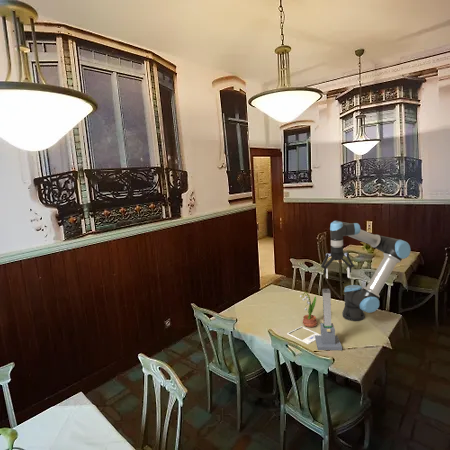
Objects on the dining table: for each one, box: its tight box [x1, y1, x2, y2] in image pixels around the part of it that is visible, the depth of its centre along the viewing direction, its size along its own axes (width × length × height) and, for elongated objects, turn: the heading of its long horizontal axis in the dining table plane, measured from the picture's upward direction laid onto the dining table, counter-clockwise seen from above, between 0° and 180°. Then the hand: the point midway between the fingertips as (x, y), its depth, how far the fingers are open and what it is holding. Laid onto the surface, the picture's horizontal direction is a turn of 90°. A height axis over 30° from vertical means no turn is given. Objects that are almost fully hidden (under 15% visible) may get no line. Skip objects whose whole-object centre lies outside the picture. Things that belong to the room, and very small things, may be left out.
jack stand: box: [315, 322, 343, 351], centre depth 198 cm, size 14×14×12 cm
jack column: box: [322, 288, 332, 328], centre depth 196 cm, size 4×4×25 cm
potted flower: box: [299, 292, 318, 328], centre depth 223 cm, size 12×10×25 cm
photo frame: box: [286, 325, 321, 345], centre depth 212 cm, size 15×1×18 cm
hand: (337, 277), depth 209 cm, fingers open, 13 cm apart
